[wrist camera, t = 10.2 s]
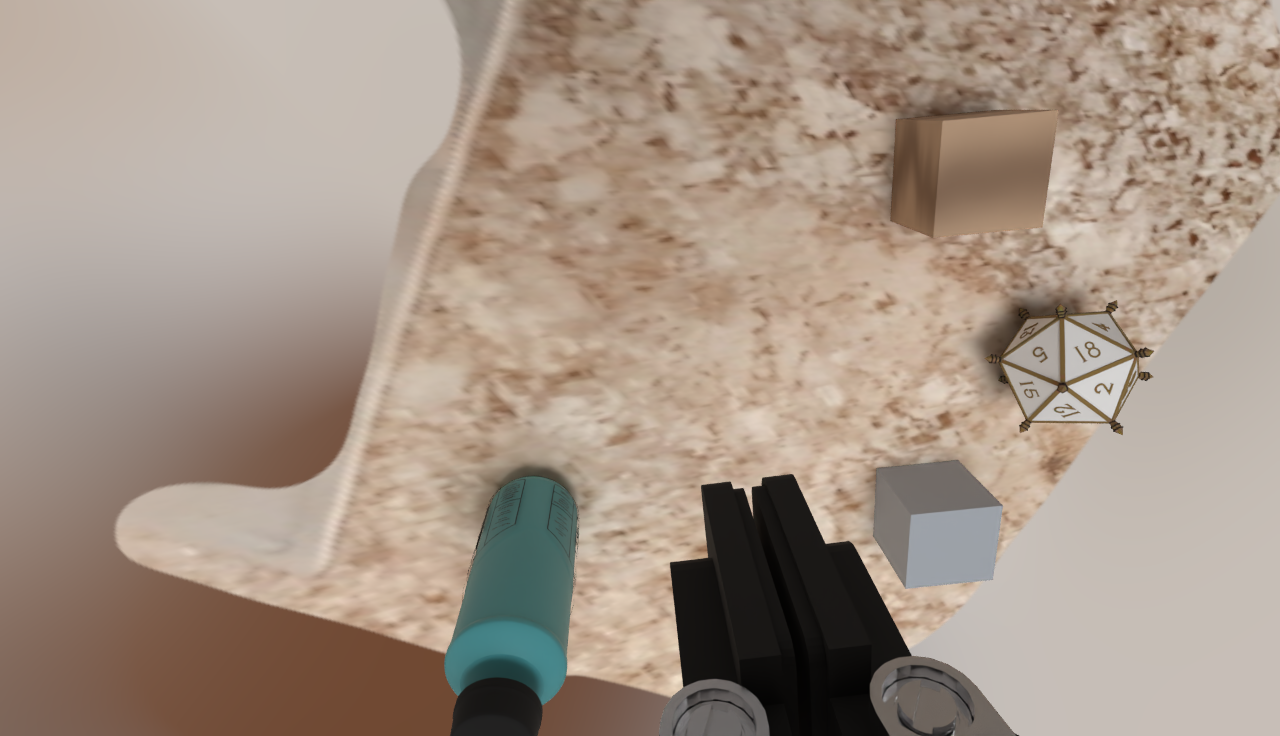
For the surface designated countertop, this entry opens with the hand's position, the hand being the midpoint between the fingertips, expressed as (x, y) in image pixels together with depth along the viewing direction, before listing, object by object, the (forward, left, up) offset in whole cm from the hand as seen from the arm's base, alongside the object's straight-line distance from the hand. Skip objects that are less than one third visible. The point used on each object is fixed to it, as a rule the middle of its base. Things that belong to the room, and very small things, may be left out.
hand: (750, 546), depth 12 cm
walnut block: (-3, +18, -31) cm, 36 cm away
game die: (+10, +25, -31) cm, 41 cm away
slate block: (+21, +18, -31) cm, 42 cm away
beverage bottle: (+18, -10, -31) cm, 38 cm away
